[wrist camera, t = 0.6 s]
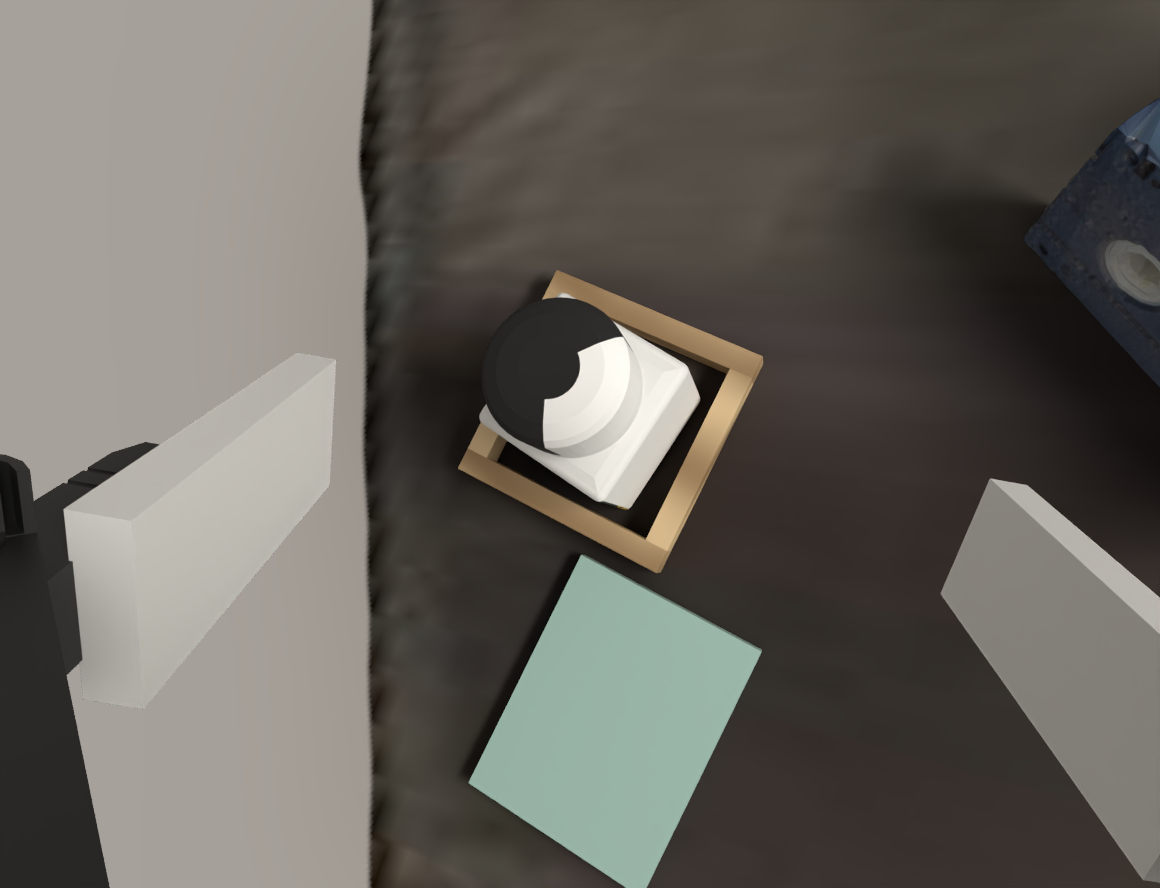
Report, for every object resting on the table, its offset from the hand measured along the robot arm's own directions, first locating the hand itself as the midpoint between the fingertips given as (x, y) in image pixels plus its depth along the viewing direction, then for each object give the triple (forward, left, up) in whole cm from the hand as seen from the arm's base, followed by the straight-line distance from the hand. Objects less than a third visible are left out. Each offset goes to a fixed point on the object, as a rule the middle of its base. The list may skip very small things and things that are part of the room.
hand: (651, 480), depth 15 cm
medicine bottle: (-2, -7, -24) cm, 25 cm away
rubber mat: (+11, 0, -24) cm, 26 cm away
